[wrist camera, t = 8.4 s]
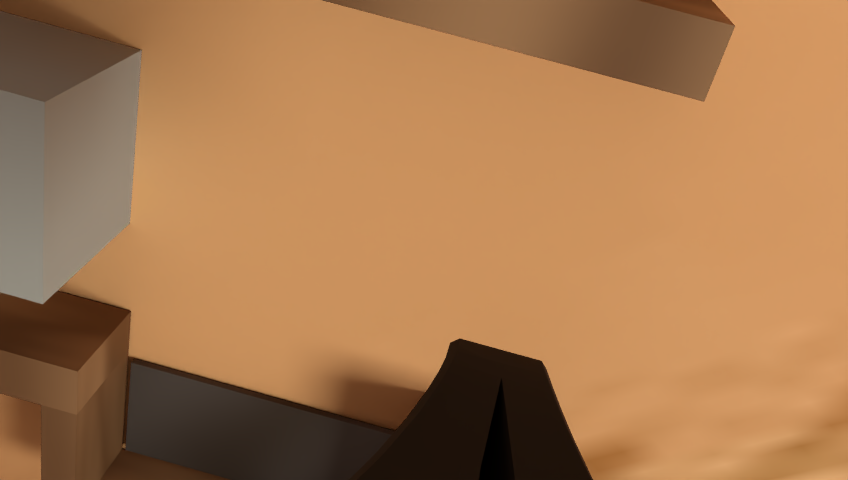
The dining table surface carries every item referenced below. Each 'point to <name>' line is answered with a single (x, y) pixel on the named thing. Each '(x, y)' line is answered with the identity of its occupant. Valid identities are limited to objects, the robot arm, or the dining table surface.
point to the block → (62, 151)
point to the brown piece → (260, 414)
